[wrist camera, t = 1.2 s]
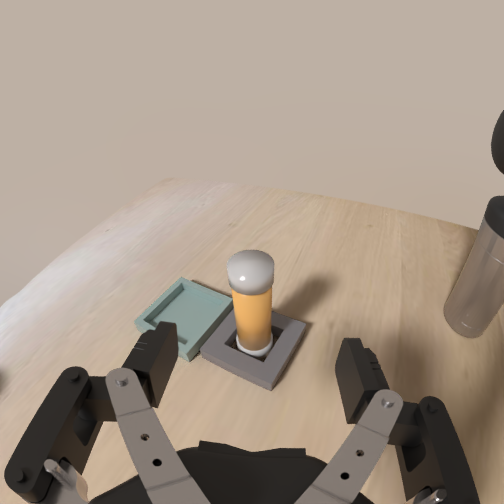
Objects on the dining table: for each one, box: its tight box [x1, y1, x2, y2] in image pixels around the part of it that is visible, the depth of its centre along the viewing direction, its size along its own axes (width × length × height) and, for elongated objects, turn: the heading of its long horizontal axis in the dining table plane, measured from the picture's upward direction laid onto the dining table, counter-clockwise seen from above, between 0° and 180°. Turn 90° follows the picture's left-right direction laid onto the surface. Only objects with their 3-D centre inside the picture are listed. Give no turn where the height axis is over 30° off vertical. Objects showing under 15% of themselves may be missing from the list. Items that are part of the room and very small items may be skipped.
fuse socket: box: [200, 308, 306, 391], centre depth 35 cm, size 10×10×2 cm
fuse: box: [227, 250, 274, 360], centre depth 32 cm, size 5×5×14 cm
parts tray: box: [134, 277, 234, 362], centre depth 39 cm, size 11×10×2 cm
